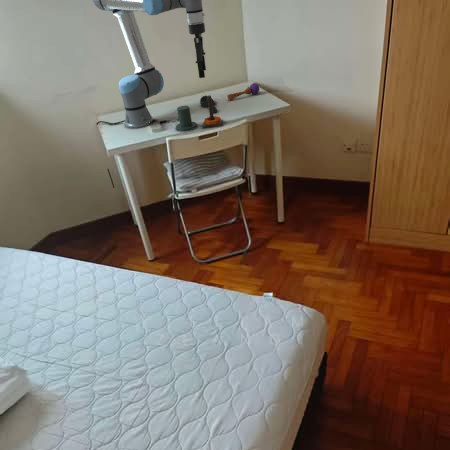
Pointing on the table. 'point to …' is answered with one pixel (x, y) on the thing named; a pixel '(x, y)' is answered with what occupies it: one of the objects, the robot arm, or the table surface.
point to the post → (211, 114)
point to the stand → (185, 119)
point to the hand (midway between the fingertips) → (202, 74)
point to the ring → (215, 121)
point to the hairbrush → (205, 103)
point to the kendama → (252, 89)
